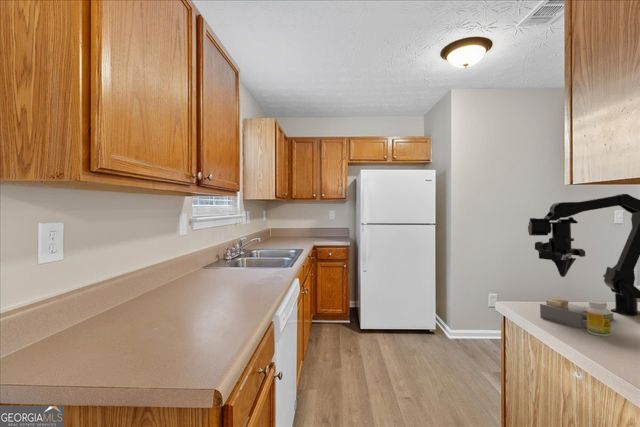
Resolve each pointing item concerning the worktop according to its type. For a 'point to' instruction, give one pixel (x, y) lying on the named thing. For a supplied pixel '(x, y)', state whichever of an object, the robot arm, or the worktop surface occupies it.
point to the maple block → (557, 303)
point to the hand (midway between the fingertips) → (562, 276)
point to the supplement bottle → (598, 318)
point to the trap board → (567, 315)
